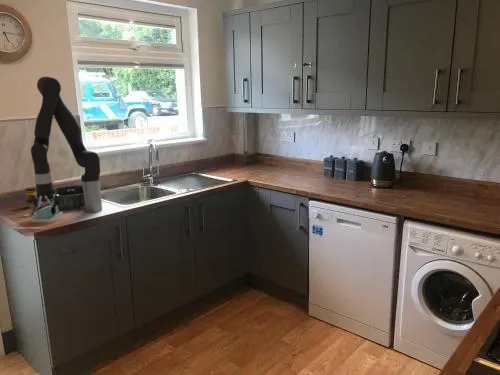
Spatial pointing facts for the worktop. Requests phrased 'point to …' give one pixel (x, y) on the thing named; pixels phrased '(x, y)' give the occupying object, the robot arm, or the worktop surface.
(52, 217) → the tray
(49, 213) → the slotted block
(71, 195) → the bundt pan
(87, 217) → the worktop surface
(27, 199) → the condiment
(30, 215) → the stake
